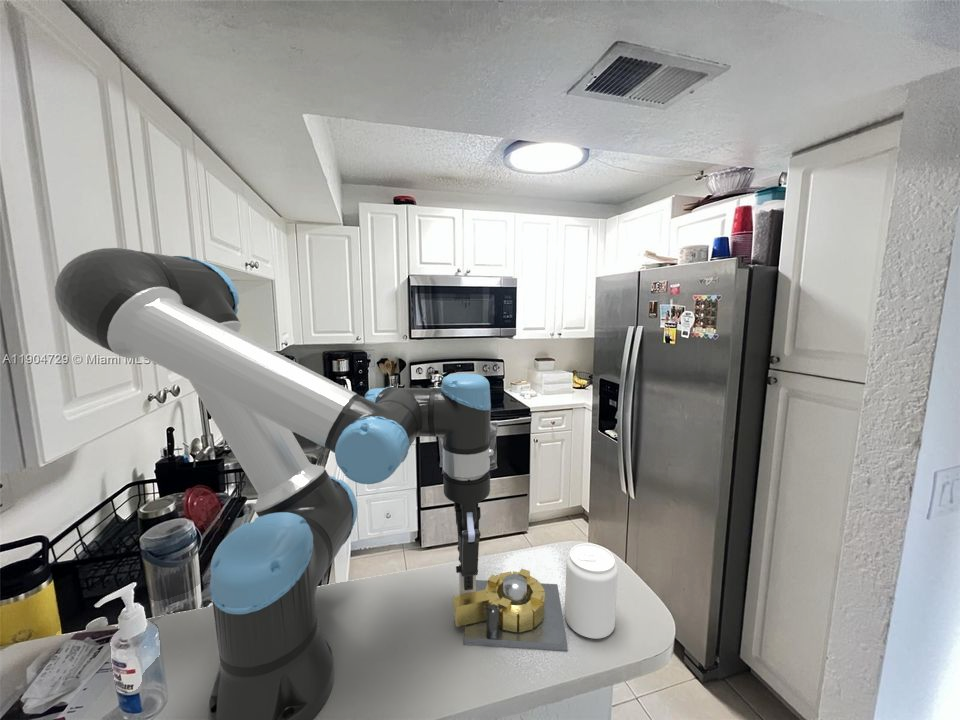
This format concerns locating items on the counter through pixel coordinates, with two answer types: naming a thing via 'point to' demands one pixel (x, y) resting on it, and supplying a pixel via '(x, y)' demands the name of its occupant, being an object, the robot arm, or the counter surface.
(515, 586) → the plate
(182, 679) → the counter surface
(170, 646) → the counter surface
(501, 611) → the segmented ring with handle
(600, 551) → the beverage can
